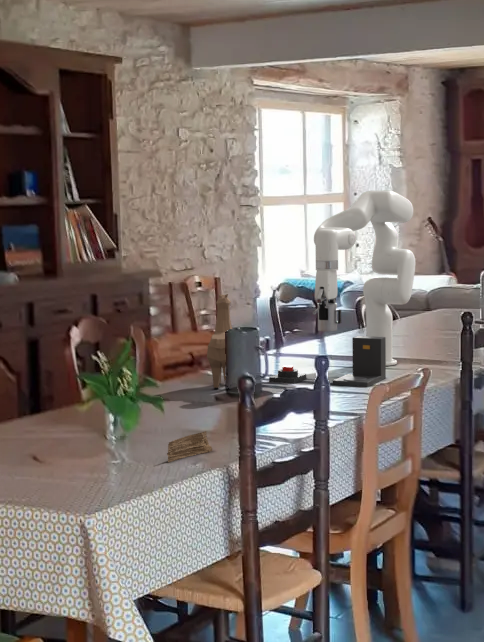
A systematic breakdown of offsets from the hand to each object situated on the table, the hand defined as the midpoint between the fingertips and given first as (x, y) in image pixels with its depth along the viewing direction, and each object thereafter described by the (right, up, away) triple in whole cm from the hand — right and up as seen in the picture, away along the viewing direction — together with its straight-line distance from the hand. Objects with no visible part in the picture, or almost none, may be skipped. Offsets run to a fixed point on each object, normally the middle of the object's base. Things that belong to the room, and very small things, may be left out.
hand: (327, 318), depth 395 cm
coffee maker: (+10, -21, -6) cm, 24 cm away
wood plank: (-45, -33, -111) cm, 124 cm away
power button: (-14, -18, -1) cm, 22 cm away
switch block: (-13, -21, -1) cm, 25 cm away
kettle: (0, -4, 0) cm, 4 cm away
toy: (-35, -22, -11) cm, 43 cm away
